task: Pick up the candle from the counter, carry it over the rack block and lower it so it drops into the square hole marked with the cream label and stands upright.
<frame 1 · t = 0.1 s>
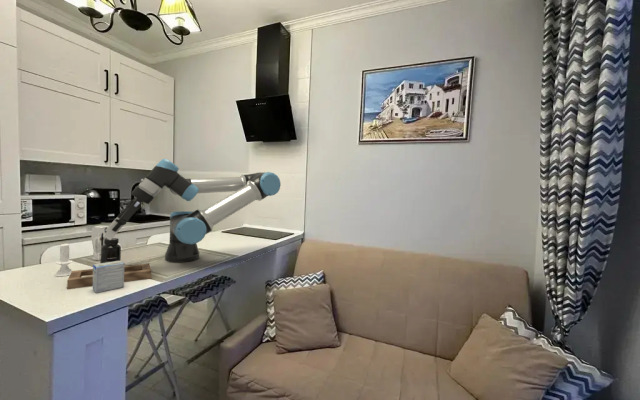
hand: (107, 235, 108), 15 cm above the countertop, tool tilted 35°, fingers open, 13 cm apart
supplement bottle: (110, 267, 117), on the countertop
candle: (64, 274, 106), on the countertop
rack block: (112, 278, 104), on the countertop
medicine box: (108, 289, 95), on the countertop
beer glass: (100, 259, 128), on the countertop
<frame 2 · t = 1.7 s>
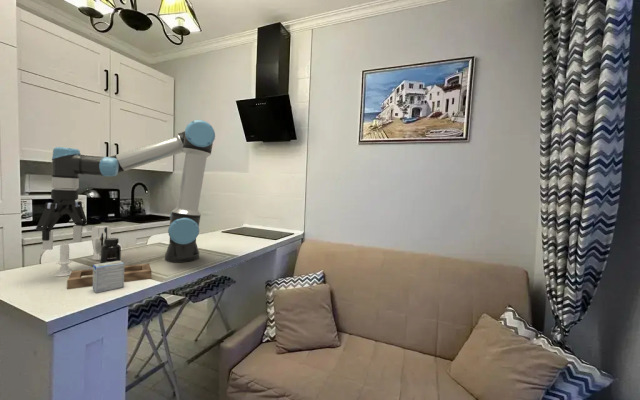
hand: (63, 245, 105), 11 cm above the countertop, tool pointing down, fingers open, 13 cm apart
nothing on the countertop moved.
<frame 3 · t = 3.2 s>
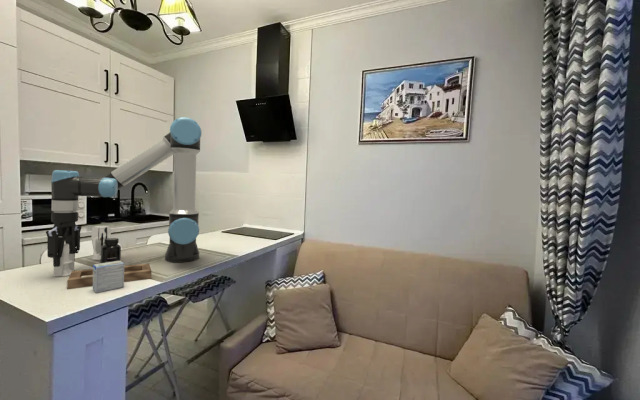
hand: (64, 272, 106), 1 cm above the countertop, tool pointing down, fingers closed on candle, 4 cm apart
candle: (64, 274, 106), on the countertop, touching gripper
everything else where it was.
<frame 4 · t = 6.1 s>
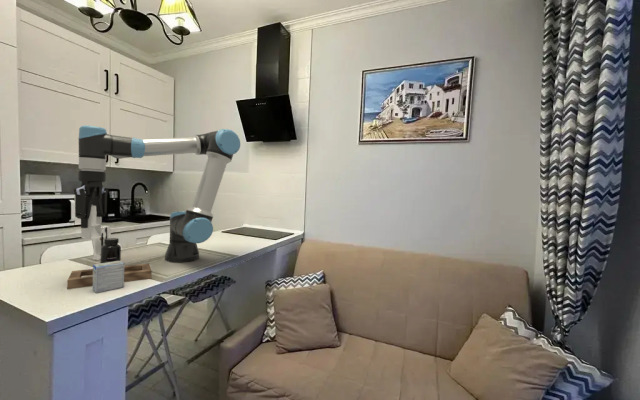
hand: (91, 235, 100), 17 cm above the countertop, tool pointing down, fingers closed on candle, 4 cm apart
candle: (91, 238, 100), point 16 cm above the countertop, touching gripper
everything else where it was.
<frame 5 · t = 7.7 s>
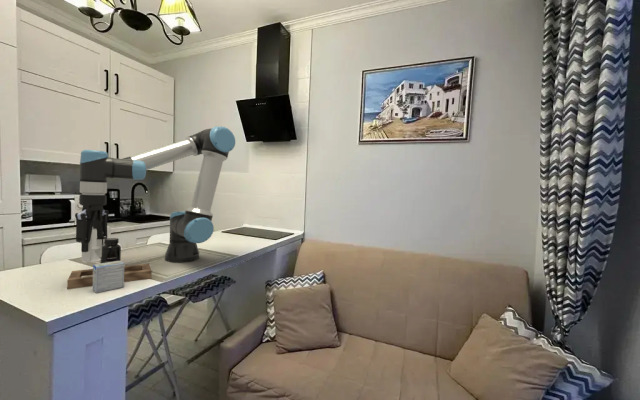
hand: (91, 258, 100), 8 cm above the countertop, tool pointing down, fingers closed on candle, 4 cm apart
candle: (91, 261, 100), point 7 cm above the countertop, touching gripper
everything else where it was.
when the fingers open (5 cm above the countertop, at t = 9.0 s): candle drops 4 cm, resting in rack block.
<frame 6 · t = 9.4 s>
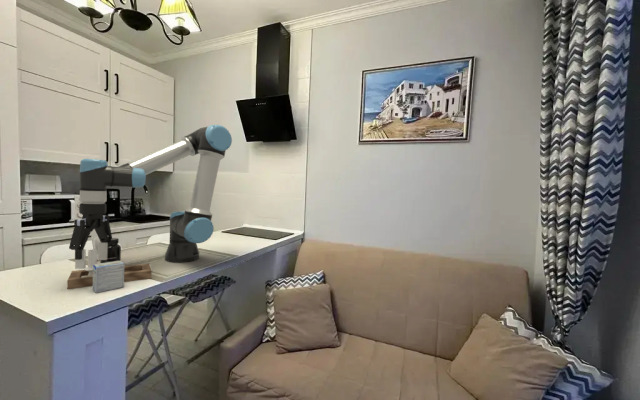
hand: (92, 263, 100), 6 cm above the countertop, tool pointing down, fingers open, 10 cm apart
candle: (91, 281, 101), resting in rack block
everything else where it was.
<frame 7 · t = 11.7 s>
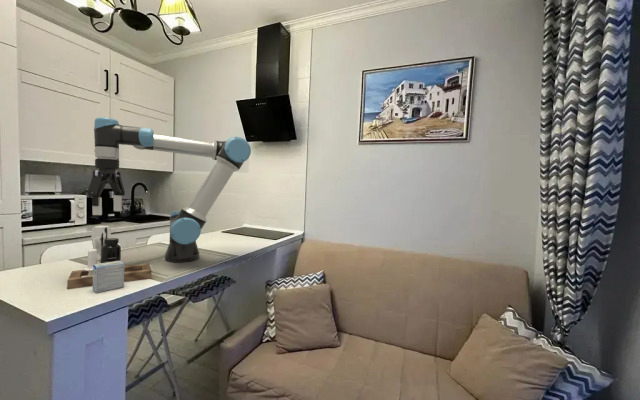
hand: (108, 213, 110), 24 cm above the countertop, tool pointing down, fingers open, 13 cm apart
nothing on the countertop moved.
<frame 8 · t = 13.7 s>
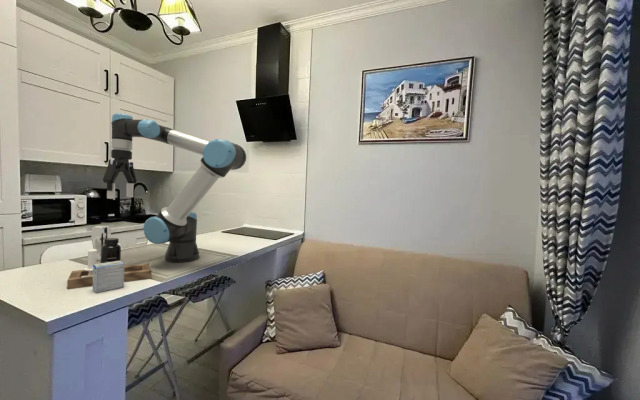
hand: (120, 198, 124), 29 cm above the countertop, tool pointing down, fingers open, 13 cm apart
nothing on the countertop moved.
at the end: candle 0.0 cm from the target spot on the rack block, point 0.0 cm above the rack block's base; candle tilted 0°; the gripper is holding nothing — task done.
